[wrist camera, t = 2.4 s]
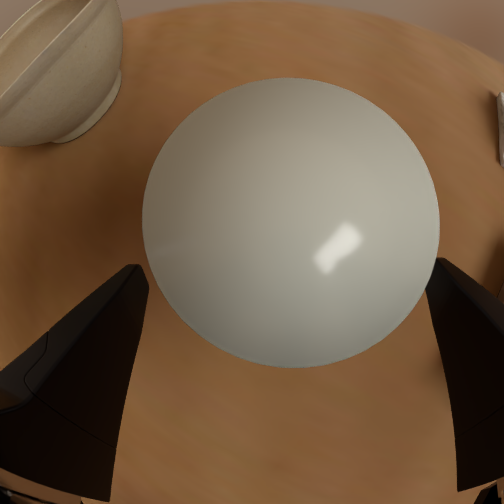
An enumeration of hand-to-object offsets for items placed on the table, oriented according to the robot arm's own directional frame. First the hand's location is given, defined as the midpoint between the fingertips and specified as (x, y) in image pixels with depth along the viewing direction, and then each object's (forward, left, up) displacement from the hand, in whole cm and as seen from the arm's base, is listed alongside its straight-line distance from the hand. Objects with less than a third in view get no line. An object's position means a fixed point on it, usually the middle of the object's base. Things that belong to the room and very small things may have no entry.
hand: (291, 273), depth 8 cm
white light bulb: (+1, +1, -9) cm, 9 cm away
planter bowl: (-7, +24, -9) cm, 26 cm away
